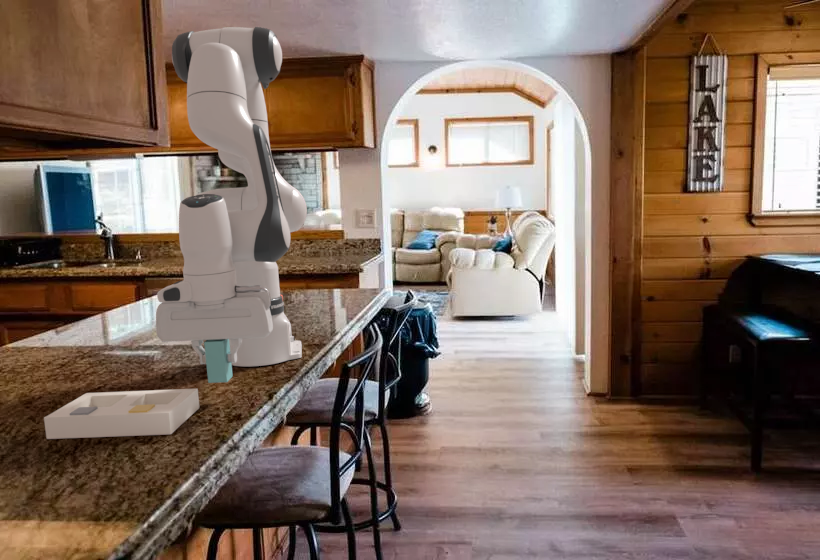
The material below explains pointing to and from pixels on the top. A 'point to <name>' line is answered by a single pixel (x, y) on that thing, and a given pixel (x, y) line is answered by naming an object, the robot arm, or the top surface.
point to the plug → (217, 360)
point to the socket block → (122, 414)
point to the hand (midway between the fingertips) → (219, 362)
